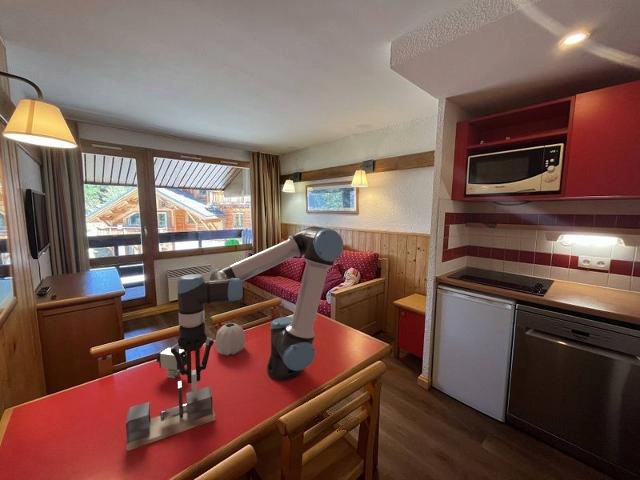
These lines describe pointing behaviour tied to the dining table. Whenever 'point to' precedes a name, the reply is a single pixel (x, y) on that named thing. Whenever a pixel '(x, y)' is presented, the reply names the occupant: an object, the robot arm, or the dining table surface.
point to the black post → (175, 410)
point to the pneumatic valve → (171, 362)
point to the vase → (230, 339)
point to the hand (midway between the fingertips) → (194, 390)
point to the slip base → (154, 429)
